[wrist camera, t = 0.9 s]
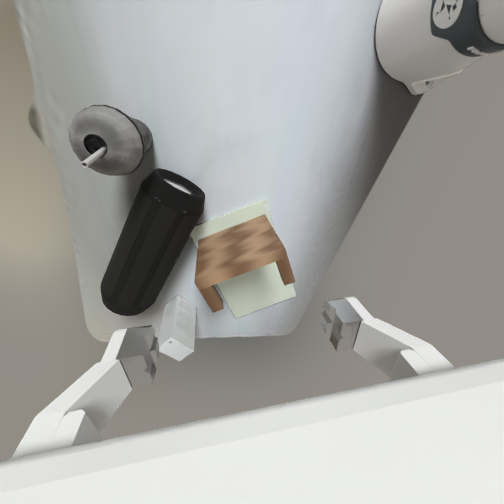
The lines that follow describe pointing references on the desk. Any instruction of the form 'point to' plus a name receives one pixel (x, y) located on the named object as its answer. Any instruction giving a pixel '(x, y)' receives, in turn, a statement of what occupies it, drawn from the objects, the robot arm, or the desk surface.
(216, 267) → the stool
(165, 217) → the portable speaker
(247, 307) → the mat
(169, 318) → the skincare box
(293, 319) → the desk surface
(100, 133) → the beverage cup
